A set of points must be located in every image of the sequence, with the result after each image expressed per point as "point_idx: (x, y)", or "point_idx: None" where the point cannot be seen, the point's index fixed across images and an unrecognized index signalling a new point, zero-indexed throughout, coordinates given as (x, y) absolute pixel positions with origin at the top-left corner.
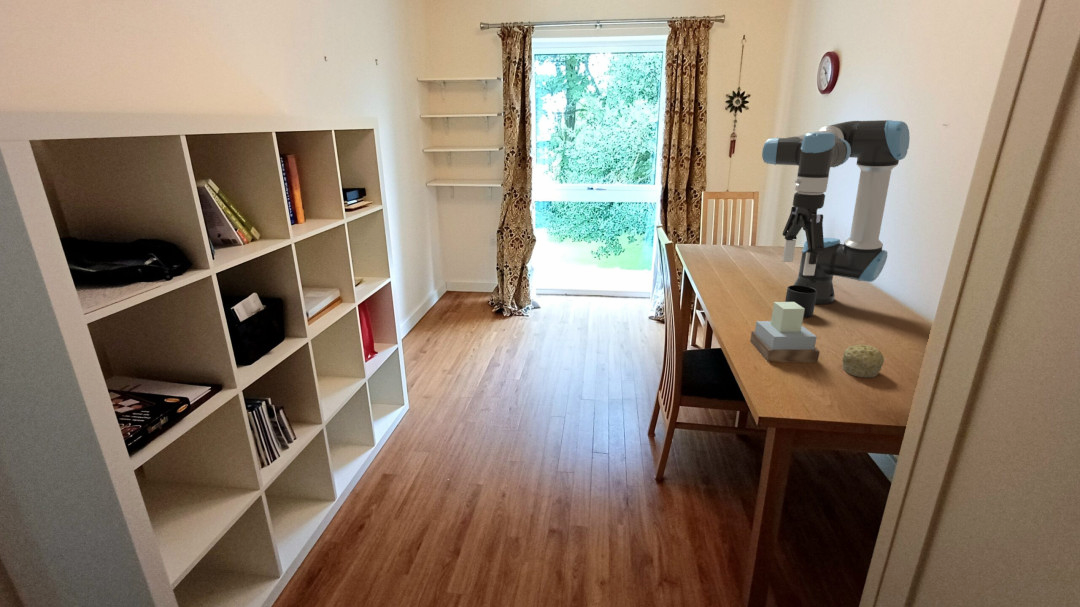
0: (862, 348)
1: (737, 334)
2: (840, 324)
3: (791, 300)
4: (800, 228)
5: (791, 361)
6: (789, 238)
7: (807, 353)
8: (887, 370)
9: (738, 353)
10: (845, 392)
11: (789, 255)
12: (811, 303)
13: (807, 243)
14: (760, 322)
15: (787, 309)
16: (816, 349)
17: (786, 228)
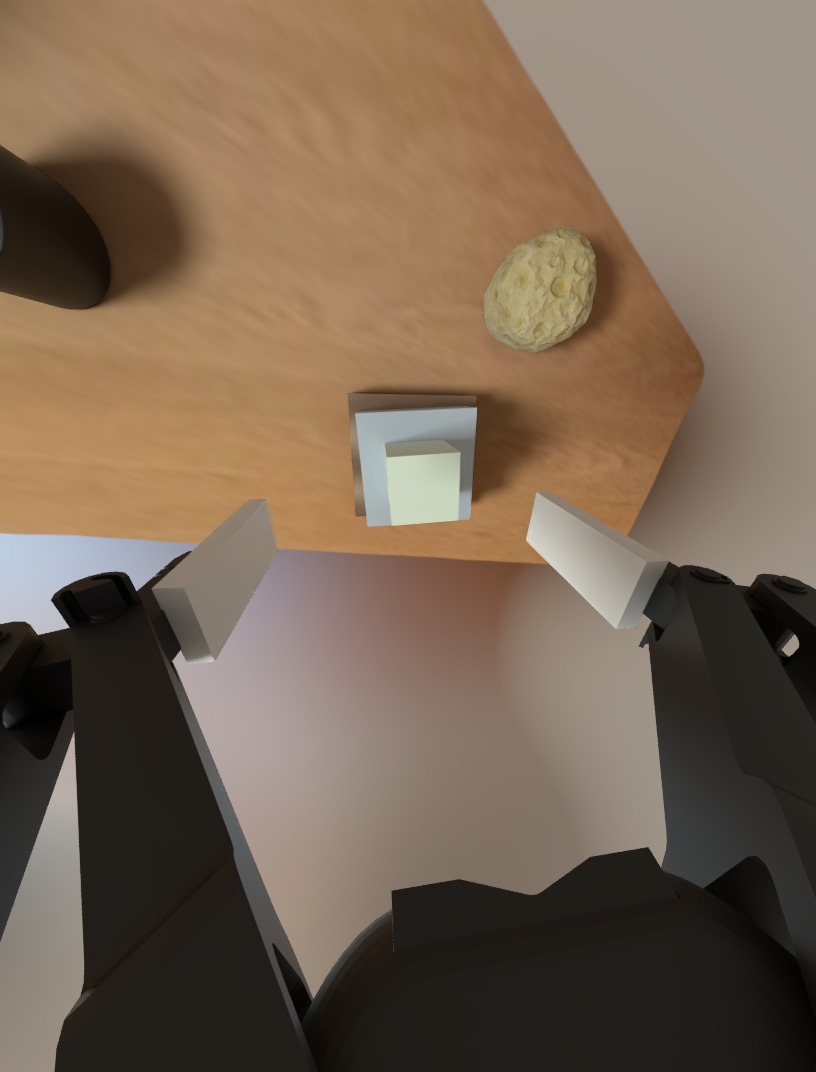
0: (569, 303)
1: (318, 522)
2: (132, 89)
3: (40, 284)
4: (205, 770)
5: None
6: (167, 650)
7: None
8: (531, 205)
9: (419, 546)
10: (597, 407)
11: (258, 544)
12: (31, 181)
13: (655, 682)
14: (376, 519)
15: (457, 507)
16: (465, 398)
17: (41, 809)
